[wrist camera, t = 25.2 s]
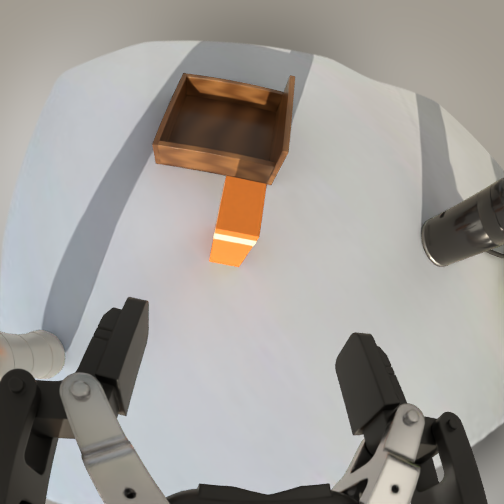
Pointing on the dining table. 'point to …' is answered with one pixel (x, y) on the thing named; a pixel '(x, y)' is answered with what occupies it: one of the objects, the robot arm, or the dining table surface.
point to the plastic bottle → (31, 353)
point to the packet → (237, 220)
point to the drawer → (226, 128)
